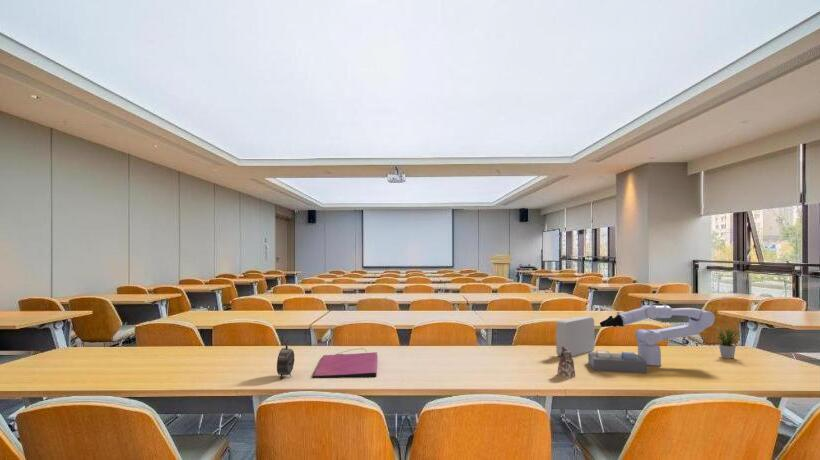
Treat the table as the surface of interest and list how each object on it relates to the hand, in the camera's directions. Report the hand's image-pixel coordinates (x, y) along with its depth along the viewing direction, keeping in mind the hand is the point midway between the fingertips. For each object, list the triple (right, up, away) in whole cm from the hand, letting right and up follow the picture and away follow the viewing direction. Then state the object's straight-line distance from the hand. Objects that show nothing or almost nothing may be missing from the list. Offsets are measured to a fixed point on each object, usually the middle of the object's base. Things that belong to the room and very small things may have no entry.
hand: (603, 324), depth 214 cm
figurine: (-26, -18, -22) cm, 38 cm away
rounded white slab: (-6, -19, +19) cm, 28 cm away
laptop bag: (-122, -19, -6) cm, 124 cm away
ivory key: (-3, -15, -8) cm, 18 cm away
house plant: (+69, -19, +10) cm, 72 cm away
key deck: (+2, -18, -10) cm, 20 cm away
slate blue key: (+7, -15, -11) cm, 20 cm away
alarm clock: (-146, -17, -25) cm, 149 cm away
